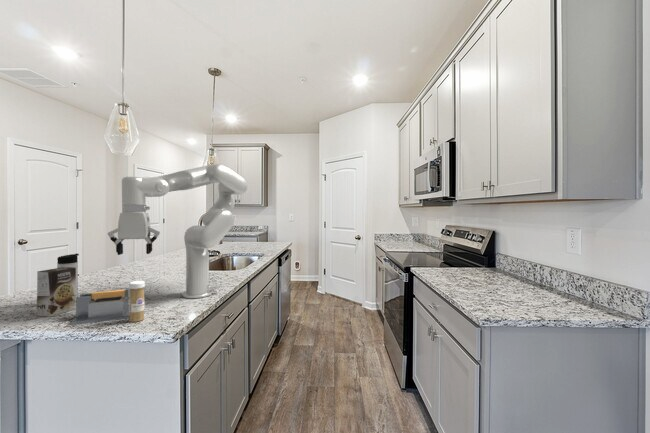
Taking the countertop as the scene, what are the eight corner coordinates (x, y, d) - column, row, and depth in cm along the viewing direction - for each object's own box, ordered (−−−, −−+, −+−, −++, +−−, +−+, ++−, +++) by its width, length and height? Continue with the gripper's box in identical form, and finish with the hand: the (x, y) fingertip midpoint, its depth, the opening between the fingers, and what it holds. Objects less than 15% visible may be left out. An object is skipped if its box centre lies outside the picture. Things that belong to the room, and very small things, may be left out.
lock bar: (129, 294, 110) (129, 287, 110) (128, 296, 108) (128, 289, 108) (93, 297, 106) (93, 290, 106) (91, 299, 103) (91, 292, 103)
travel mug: (80, 303, 119) (80, 254, 118) (58, 307, 114) (58, 256, 113) (77, 299, 123) (77, 252, 122) (56, 303, 118) (56, 254, 118)
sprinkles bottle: (136, 323, 99) (136, 283, 99) (125, 321, 100) (125, 282, 100) (147, 318, 104) (147, 280, 103) (137, 316, 105) (137, 279, 105)
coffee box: (51, 317, 103) (50, 272, 103) (36, 315, 104) (35, 271, 104) (76, 308, 112) (76, 267, 112) (62, 307, 113) (62, 266, 113)
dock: (141, 305, 117) (141, 286, 117) (135, 317, 104) (135, 295, 104) (84, 311, 109) (84, 290, 109) (71, 325, 97) (71, 301, 97)
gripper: (161, 209, 117) (162, 251, 118) (112, 209, 113) (113, 253, 113) (156, 209, 110) (156, 254, 110) (103, 209, 105) (103, 256, 106)
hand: (134, 253), depth 112 cm, fingers open, 9 cm apart
